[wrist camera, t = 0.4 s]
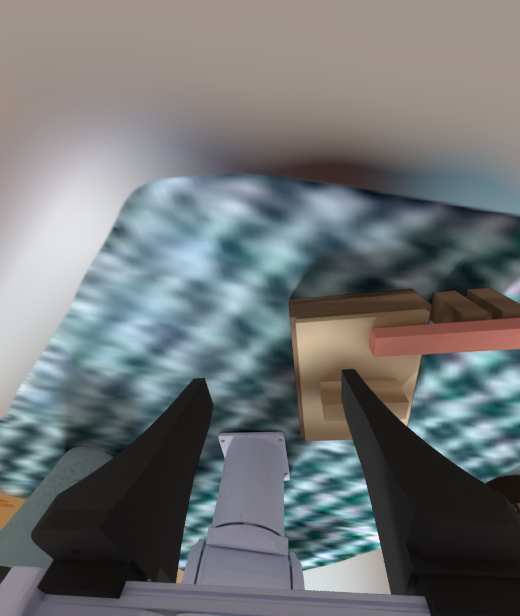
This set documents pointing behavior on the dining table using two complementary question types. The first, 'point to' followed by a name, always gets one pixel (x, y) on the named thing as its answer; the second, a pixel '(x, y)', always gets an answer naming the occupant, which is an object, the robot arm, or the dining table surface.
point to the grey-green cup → (44, 509)
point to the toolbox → (441, 310)
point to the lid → (351, 355)
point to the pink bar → (446, 337)
